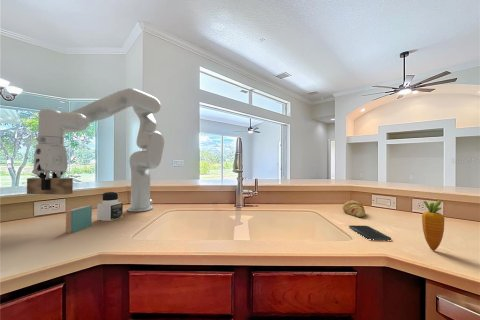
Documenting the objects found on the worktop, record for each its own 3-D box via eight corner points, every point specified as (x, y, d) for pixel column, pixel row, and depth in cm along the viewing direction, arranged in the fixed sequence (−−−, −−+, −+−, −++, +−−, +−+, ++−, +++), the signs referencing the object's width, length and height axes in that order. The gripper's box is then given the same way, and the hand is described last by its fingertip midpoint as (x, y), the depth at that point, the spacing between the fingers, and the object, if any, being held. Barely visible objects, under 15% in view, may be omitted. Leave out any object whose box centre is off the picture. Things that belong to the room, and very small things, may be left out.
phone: (369, 238, 72) (348, 225, 87) (369, 241, 72) (348, 228, 87) (393, 238, 72) (367, 225, 87) (393, 242, 72) (367, 228, 87)
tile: (65, 232, 78) (66, 210, 79) (85, 225, 87) (85, 205, 88) (72, 232, 78) (72, 210, 78) (91, 225, 87) (91, 205, 87)
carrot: (417, 247, 66) (417, 198, 67) (432, 247, 67) (432, 198, 67) (433, 254, 61) (433, 201, 62) (449, 254, 62) (449, 201, 62)
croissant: (367, 226, 101) (376, 211, 101) (347, 215, 103) (356, 200, 102) (351, 214, 122) (359, 202, 121) (335, 205, 123) (342, 193, 123)
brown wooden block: (72, 193, 85) (72, 178, 85) (65, 194, 82) (65, 178, 82) (34, 192, 86) (35, 177, 86) (26, 194, 83) (27, 178, 83)
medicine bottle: (110, 221, 93) (111, 193, 94) (96, 220, 95) (97, 193, 95) (122, 217, 100) (123, 191, 101) (109, 216, 102) (110, 190, 102)
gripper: (39, 139, 76) (37, 192, 76) (77, 143, 92) (76, 187, 92) (19, 139, 76) (18, 192, 76) (61, 143, 93) (60, 187, 92)
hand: (50, 188), depth 84 cm, fingers closed on brown wooden block, 2 cm apart
